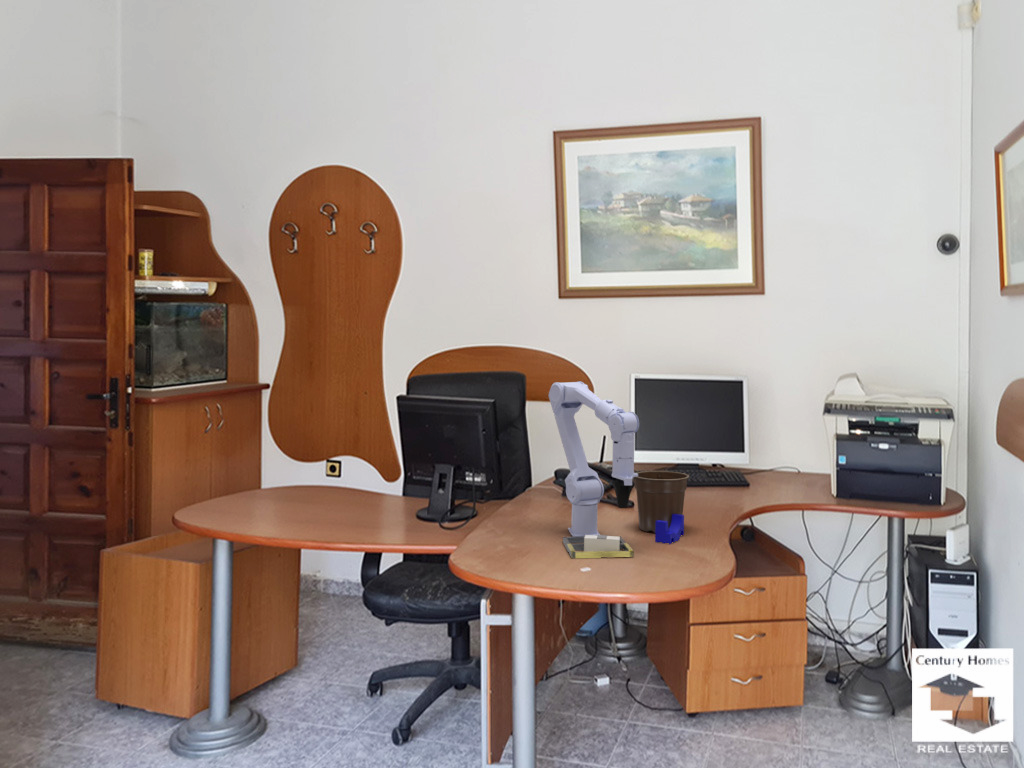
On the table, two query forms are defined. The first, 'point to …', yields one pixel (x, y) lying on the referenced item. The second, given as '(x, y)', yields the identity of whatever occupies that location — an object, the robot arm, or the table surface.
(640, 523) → the plant pot
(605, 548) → the white banded pillar
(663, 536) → the cable clip
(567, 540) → the rack
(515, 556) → the table surface
